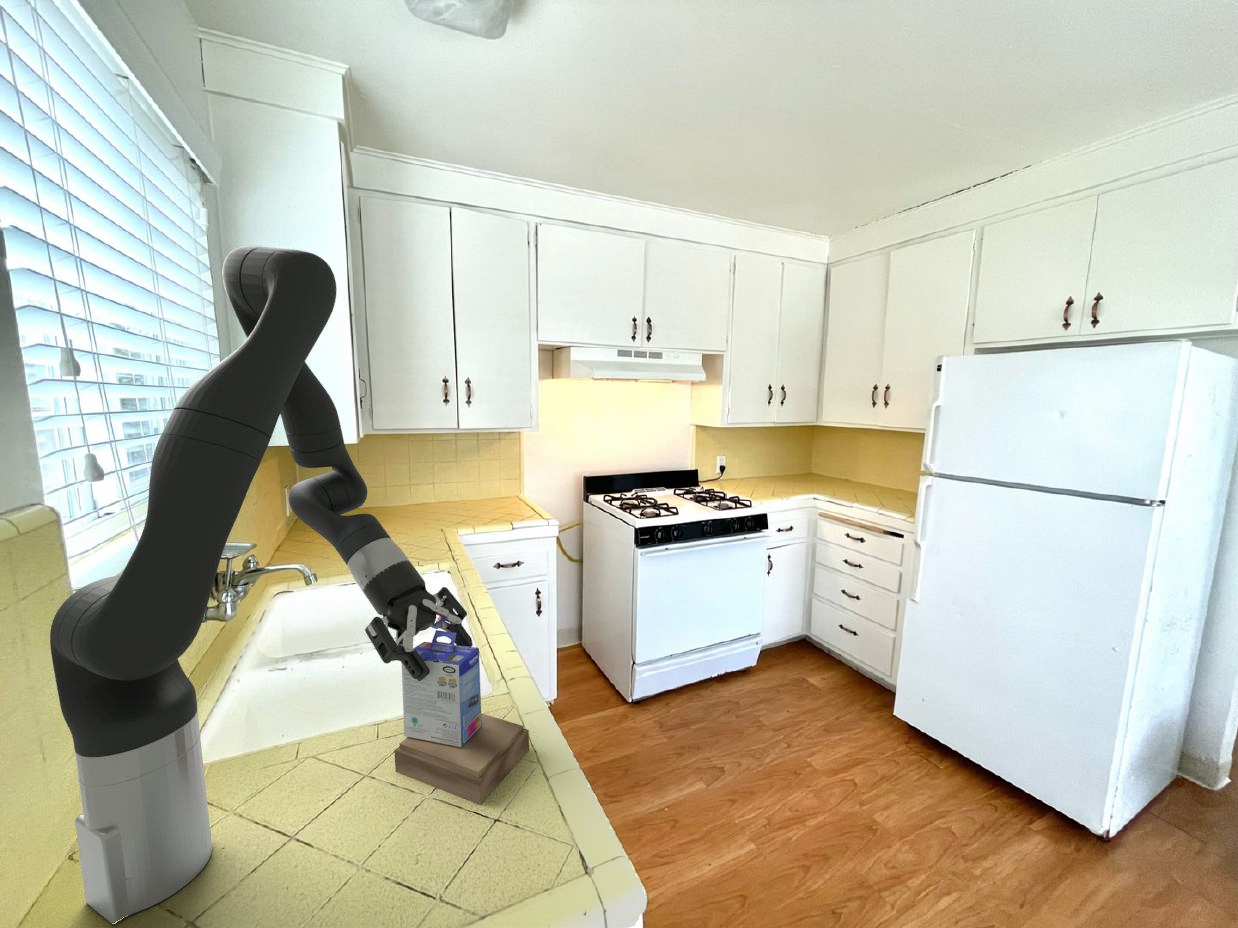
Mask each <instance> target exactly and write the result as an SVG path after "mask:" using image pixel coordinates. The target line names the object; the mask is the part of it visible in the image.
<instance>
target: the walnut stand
mask: <svg viewBox="0 0 1238 928" xmlns="http://www.w3.org/2000/svg"><path fill="white" fill-rule="evenodd" d="M481 718H482V727H481V728H480V729H479V730H478V731H477V732H476V733H475V734H474V735H473V736H472V737H471V738H470V739H469V740H468V741H467V742H466V743H465V744H464V745H463V746H462V747H457V746H452V745H447V744H441V743H436V742H431V741H426V740H421V739H416V738H410V737H406V738H404V739H403V740H402V741H401V742H399V746H398V747H396V748H395V749H394V750H393V751H394V752H393V753H394V765H395V766H394V767H395V772H397V773H399V774H402V775H404V776H406V777H409V778H412V779H414V780H416V781H419V782H421V783H422V782H423V783H424V784H427V785H429V786H431V787H435V788H437V789H438V790H439V789H440V790H442V791H445V792H447V793H449V794H452V795H455V796H458V797H460V798H462V799H464V800H467V801H470V802H472V803H475V804H477V805H482V804H483V803H484V802H485V800H486V799H487V798H488V797H489V796H490V795H491V793H492V792H493V791H494V790H495V789H496V788H497V786H499V784H500V783H501V782H502V781H503V780H504V779H505V778H506V777H507V775H508V774H510V772H511V771H512V770H513V769H514V767H515V766H516V765H517V764H518V763H519V762H520V761H521V760H522V758H524V757H525V755H526V754H527V753H528V752H529V751H530V735H529V734H530V733H529V729H527V728H524V727H525V726H524V725H522V724H519V723H515V722H511V721H509V720H505V719H501V718H498V717H495V716H492V715H488V714H485V713H482V712H481Z"/></svg>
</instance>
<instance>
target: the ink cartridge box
mask: <svg viewBox="0 0 1238 928" xmlns="http://www.w3.org/2000/svg"><path fill="white" fill-rule="evenodd" d="M456 634H457V633H454V632H447V631H445V630H438V629H435V632H434V635H433V637H432V640H431V642H430V641H423V642H422V643H420V644H418V645H416V646H415V647H413V650H412V651H414V650H416V651H417V652H418V654H419V655H420V656H421V658H422V659H423V661H424V662H425V664H426V665H427V667H428V668H429V670H430V673H429V674H428V675H427V676H426V678H425V679H423V680H421V681H418V680H417V679H414V678H413V677H412V676H411V675H410V673H409V672H408V670H407V669H406V668H405V666H404V665H403V663H402V662H401V661H400V662H401V663H400V664H401V684H402V685H401V686H402V711H403V713H402V716H403V717H402V718H403V736H404V737H406V738H407V737H410V738H416V739H421V740H426V741H431V742H436V743H441V744H447V745H452V746H457V747H462V746H463V745H464V744H465V743H466V742H467V741H468V740H469V739H470V738H471V737H472V736H473V735H474V734H475V733H476V732H477V731H478V730H479V729H480V728H481V727H482V718H481V713H482V701H481V700H482V699H481V697H482V695H481V671H480V667H481V666H480V665H481V664H480V648H479V647H478V646H477V647H475V646H474V647H473V646H472V647H467V646H459V645H456V644H455V639H456ZM441 637H446V638H448V639H449V640H450V642H443V641H438V638H441Z"/></svg>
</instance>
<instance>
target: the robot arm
mask: <svg viewBox="0 0 1238 928" xmlns="http://www.w3.org/2000/svg"><path fill="white" fill-rule="evenodd" d="M221 270H222V271H221V273H222V274H221V275H222V281H223V287H224V290H225V293H226V295H227V298H228V301H229V302H230V305H231V308H232V310H233V312H234V314H235V316H236V318H237V320H238V322H239V324H240V326H241V329H242V330H243V333H244V336H245V337H246V339H245V340H244V341H243V342H242V344H241V345H240V346H239V347H237V348H236V349H235V350H233V352H231V354H229V355H228V356H226V357H224V359H223V360H221V361H220V362H219V363H217V364H216V365H214V366H213V367H212V368H210V370H208V371H207V372H205V373H204V374H203V375H202V376H201V377H199V378H198V379H197V380H195V382H194V383H193V384H192V385H190V387H188V388H187V389H186V391H185V392H184V393H182V395H181V396H180V398H179V400H178V402H177V403H176V405H174V408H173V410H172V412H171V414H170V417H169V418H168V420H167V422H166V423H165V424H166V425H165V427H164V429H163V430H162V433H161V435H160V437H159V439H158V440H157V443H156V447H155V449H154V452H153V457H152V461H151V468H150V473H149V474H150V476H149V486H148V498H147V499H148V501H147V511H146V512H147V513H146V518H145V522H144V526H143V529H142V533H141V535H140V538H139V540H138V542H137V543H136V547H135V548H134V550H133V552H132V553H131V556H130V558H129V559H128V562H127V563H126V565H125V567H124V569H123V571H122V573H121V574H120V575H115V576H109V577H105V578H104V577H103V578H102V579H98V580H96V581H92V582H91V583H88V584H86V585H84V586H83V587H80V588H79V589H78V590H76V591H75V592H73V593H72V594H71V595H70V596H69V597H68V598H66V600H65V601H64V602H63V603H62V604H61V605H60V607H59V608H58V609H57V610H56V613H55V615H54V617H53V619H52V623H51V627H50V632H49V633H50V634H49V642H50V643H49V647H50V654H51V660H52V666H53V672H54V677H55V678H54V679H55V684H56V688H57V689H56V691H57V695H58V699H59V706H60V711H61V713H62V717H63V719H64V721H65V723H66V725H67V727H68V729H69V731H70V734H71V738H72V742H73V748H74V749H73V750H74V753H75V754H74V755H75V762H76V763H75V764H76V770H77V777H78V784H79V792H80V800H81V808H82V813H81V814H80V815H78V816H76V818H75V819H74V823H75V824H74V825H75V832H76V839H77V846H78V855H79V862H80V868H81V875H82V882H83V883H82V884H83V890H84V897H85V903H86V904H88V905H89V906H90V907H91V908H92V909H93V910H94V911H96V912H97V913H98V914H99V915H100V916H101V917H103V916H104V917H105V918H106V919H107V920H109V921H110V922H111V923H115V922H116V921H118V920H120V919H122V918H123V917H125V916H127V915H129V916H131V915H133V914H136V913H138V912H141V911H143V910H146V909H149V908H150V907H152V906H154V905H157V904H159V903H161V902H163V901H164V900H166V899H168V898H169V897H170V896H173V895H174V894H175V893H177V892H179V891H180V890H181V889H182V888H184V887H185V886H187V885H188V884H189V883H190V882H191V881H192V880H193V879H194V878H195V877H197V875H198V874H199V873H200V872H201V871H202V870H203V869H204V868H205V866H206V864H207V863H208V862H209V860H210V858H211V856H212V850H213V844H212V829H211V824H210V816H209V815H210V813H209V805H208V804H209V803H208V796H207V788H206V787H207V786H206V777H205V767H204V758H203V750H202V749H203V748H202V747H203V746H202V739H201V730H200V721H199V713H198V712H199V710H198V699H197V694H196V689H195V688H196V687H194V685H193V683H192V681H191V680H190V679H189V677H188V676H187V675H186V673H185V671H184V669H183V668H182V666H181V664H180V661H179V658H180V657H182V656H183V655H184V654H185V653H186V651H187V650H188V649H189V648H190V646H191V645H192V644H193V642H194V640H195V639H196V637H197V635H198V633H199V631H200V629H201V626H202V624H203V620H204V617H205V615H206V611H207V607H208V604H209V601H210V598H211V593H212V591H213V586H214V583H215V579H216V575H217V572H218V569H219V565H220V562H221V559H222V556H223V552H224V549H225V547H226V543H227V541H228V538H229V537H230V534H231V531H232V529H233V528H234V525H235V523H236V520H237V518H238V516H239V514H240V511H241V509H242V506H243V504H244V501H245V499H246V496H247V494H248V492H249V489H250V488H251V484H252V483H253V479H254V477H255V475H256V474H257V472H258V469H259V467H260V465H261V463H262V461H263V458H264V456H265V453H266V451H267V449H268V446H269V444H270V442H271V439H272V437H273V434H274V431H275V429H276V425H277V423H278V420H279V418H280V417H281V421H282V425H283V429H284V432H285V435H286V439H287V444H288V446H289V451H290V455H291V457H292V459H293V461H294V462H295V464H296V465H298V466H299V467H301V468H306V469H319V468H331V470H332V471H329V472H326V473H322V474H320V475H316V476H313V477H310V478H307V479H305V480H301V481H298V482H297V483H295V484H294V485H293V486H292V487H291V489H290V490H289V493H288V503H289V507H290V508H291V510H292V513H294V514H295V516H296V517H297V518H298V519H299V520H300V521H301V522H302V523H304V524H305V525H307V527H309V528H310V529H312V530H313V531H314V532H315V533H317V534H319V535H320V536H321V537H322V538H324V540H325V541H327V542H328V543H330V544H331V545H332V547H334V549H335V550H336V551H337V553H338V555H339V556H340V557H341V559H342V560H343V562H344V563H345V565H346V566H347V568H348V569H349V572H350V574H351V575H352V578H353V579H354V581H355V583H356V584H357V586H358V587H359V588H360V591H361V592H363V594H364V595H365V597H366V599H367V600H368V601H369V603H370V605H371V606H372V608H374V610H375V611H376V613H377V614H378V615H379V616H375V617H373V618H372V620H371V621H370V622H369V623H368V625H367V626H366V627H365V628H364V632H365V634H366V635H367V637H368V639H369V641H370V642H371V644H372V646H373V647H374V649H375V650H376V652H377V654H378V655H379V657H380V659H381V661H382V662H383V663H384V664H390V663H391V662H395V661H398V662H402V663H403V665H404V666H405V668H406V669H407V670H408V672H409V673H410V675H411V676H412V677H413V678H414V679H417V680H418V681H421V680H423V679H425V678H426V676H427V675H428V674H429V673H430V670H429V668H428V667H427V665H426V664H425V662H424V661H423V659H422V658H421V656H420V655H419V654H418V652H417V651H416V650H414V651H412V650H413V648H414V637H415V636H417V635H418V634H419V633H420V632H423V631H426V630H428V629H430V628H432V629H435V630H438V629H441V631H446V632H454V633H457V634H456V639H455V643H454V645H459V646H467V647H473V646H474V645H473V640H472V637H471V636H470V633H468V632H467V630H466V629H465V627H464V626H463V624H462V622H463V620H464V619H465V617H467V616H468V612H467V611H466V609H465V608H464V606H462V604H461V603H460V602H459V600H458V599H456V597H455V596H454V595H453V593H452V592H451V591H450V590H449V588H448V587H445V586H443V587H441V589H440V590H439V591H438V592H436V593H434V594H432V593H430V592H429V591H427V588H426V581H425V579H423V576H421V574H420V573H419V571H418V570H417V569H416V567H415V566H414V565H413V563H412V562H411V560H410V559H409V558H408V556H407V555H406V553H404V551H403V550H402V548H401V547H400V546H399V545H398V544H397V543H396V542H395V541H394V540H393V539H392V538H391V536H390V535H389V533H388V532H387V531H386V529H385V527H384V526H383V525H382V524H381V522H380V521H379V520H378V519H377V518H376V516H375V515H373V514H371V513H366V512H365V513H364V512H363V513H359V514H357V513H356V514H349V515H343V514H347V513H349V512H352V511H354V510H356V509H359V508H361V507H362V506H363V505H364V503H366V500H367V497H368V488H367V487H368V486H367V484H366V482H365V481H364V480H365V479H364V478H363V477H362V476H361V474H360V473H359V471H358V469H357V468H356V466H355V464H354V462H353V461H352V459H351V456H350V454H349V452H348V450H347V447H346V444H345V440H344V435H343V431H342V426H341V421H340V418H339V414H338V410H337V407H336V405H335V403H334V401H333V399H332V397H331V395H330V394H329V393H328V391H327V390H326V388H325V387H324V385H323V384H322V383H321V382H320V380H319V379H318V377H317V376H316V375H315V373H314V372H313V371H312V370H311V368H310V367H309V365H308V363H307V362H306V360H307V358H308V357H309V355H310V353H311V352H312V350H313V348H314V346H315V345H316V343H317V341H318V340H319V338H320V336H321V335H322V332H323V331H324V329H325V327H326V326H327V324H328V322H329V320H330V318H331V316H332V313H333V311H334V308H335V304H336V299H337V291H338V290H337V282H336V281H337V280H336V277H335V273H334V271H333V270H332V267H331V266H330V265H329V263H328V262H327V261H326V260H325V259H323V258H322V257H321V256H318V255H317V254H315V253H313V252H308V251H305V250H304V251H303V250H300V249H294V248H293V249H292V248H284V247H283V248H282V247H281V248H280V247H270V246H257V245H256V246H255V245H243V246H239V247H236V248H234V249H232V250H231V251H230V252H229V253H228V254H227V255H226V257H225V259H224V261H223V266H222V269H221ZM380 616H382V617H380ZM437 616H438V617H437ZM389 628H390V629H392V630H394V631H395V639H394V637H393V635H392V634H391V632H390V631H389ZM104 917H103V918H104ZM127 917H128V916H127ZM105 918H104V919H105ZM106 919H105V920H106ZM107 920H106V921H107ZM109 921H108V922H109ZM110 922H109V923H110ZM111 923H110V924H111Z"/></svg>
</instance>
